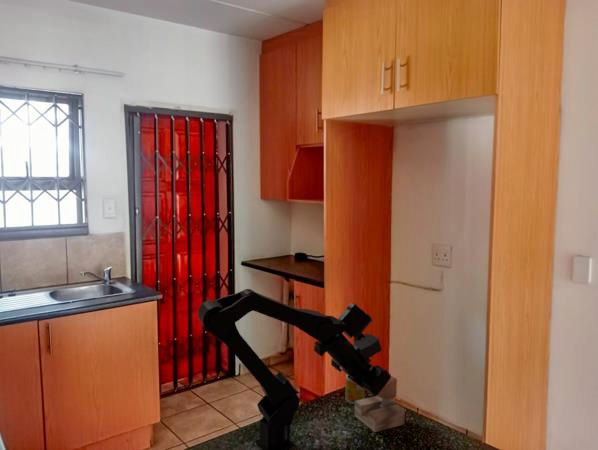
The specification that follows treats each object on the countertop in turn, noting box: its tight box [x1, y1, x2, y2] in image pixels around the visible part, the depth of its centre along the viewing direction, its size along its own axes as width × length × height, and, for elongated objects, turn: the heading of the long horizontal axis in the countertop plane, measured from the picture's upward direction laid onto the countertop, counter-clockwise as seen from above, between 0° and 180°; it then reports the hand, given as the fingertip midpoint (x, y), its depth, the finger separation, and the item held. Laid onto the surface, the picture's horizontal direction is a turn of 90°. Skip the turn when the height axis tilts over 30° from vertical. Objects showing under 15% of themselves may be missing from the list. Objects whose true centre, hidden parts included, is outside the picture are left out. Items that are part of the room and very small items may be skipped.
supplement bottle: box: [344, 373, 366, 405], centre depth 130 cm, size 5×5×10 cm
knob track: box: [354, 396, 406, 433], centre depth 119 cm, size 9×9×4 cm
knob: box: [377, 375, 398, 409], centre depth 120 cm, size 5×5×9 cm
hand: (377, 389), depth 118 cm, fingers closed, pressing on knob
